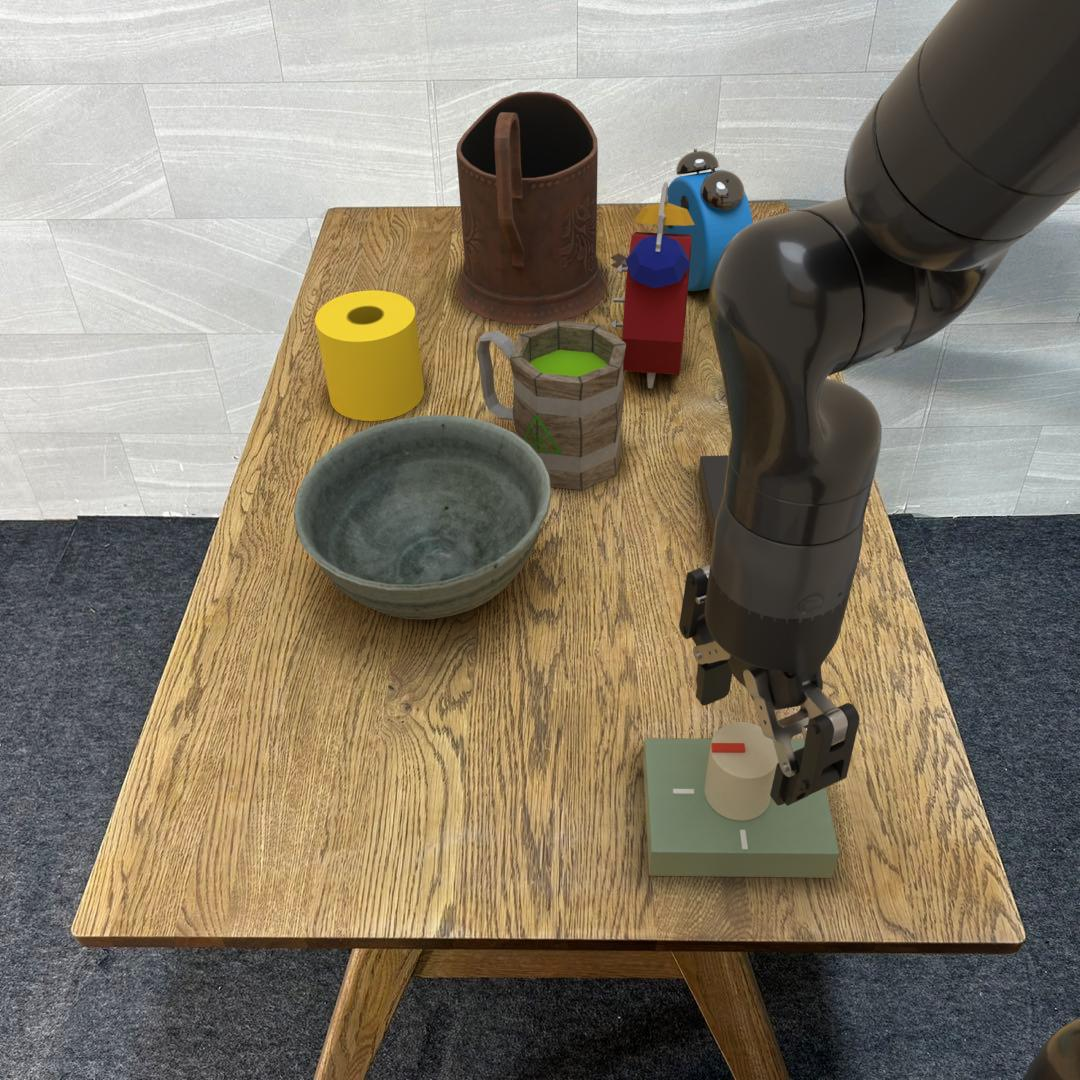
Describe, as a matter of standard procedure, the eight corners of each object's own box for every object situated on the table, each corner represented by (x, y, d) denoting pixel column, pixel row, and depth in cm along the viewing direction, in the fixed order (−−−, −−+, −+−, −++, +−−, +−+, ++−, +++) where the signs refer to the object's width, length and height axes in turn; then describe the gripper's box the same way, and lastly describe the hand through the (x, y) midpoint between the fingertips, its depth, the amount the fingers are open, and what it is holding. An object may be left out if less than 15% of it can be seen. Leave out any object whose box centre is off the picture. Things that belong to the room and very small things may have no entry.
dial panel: (809, 764, 75) (816, 737, 73) (832, 878, 68) (840, 852, 66) (642, 762, 76) (644, 736, 73) (648, 876, 69) (651, 850, 67)
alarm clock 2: (678, 404, 108) (693, 222, 95) (596, 398, 110) (598, 218, 96) (686, 329, 119) (700, 157, 106) (611, 324, 120) (615, 153, 107)
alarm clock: (748, 304, 123) (763, 180, 113) (699, 313, 122) (711, 189, 112) (701, 255, 132) (712, 136, 122) (656, 263, 131) (663, 144, 121)
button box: (839, 584, 88) (847, 550, 86) (721, 588, 88) (725, 553, 86) (802, 470, 100) (809, 437, 97) (698, 473, 100) (701, 440, 97)
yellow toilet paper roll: (323, 421, 108) (307, 342, 101) (337, 368, 115) (323, 291, 109) (419, 420, 107) (409, 340, 101) (428, 366, 115) (419, 289, 108)
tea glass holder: (614, 253, 133) (619, 46, 116) (593, 355, 116) (596, 129, 99) (471, 246, 135) (457, 42, 119) (430, 345, 118) (406, 122, 101)
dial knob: (765, 765, 71) (775, 719, 68) (774, 821, 68) (785, 775, 65) (701, 764, 72) (707, 718, 68) (707, 820, 68) (714, 775, 65)
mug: (644, 445, 103) (650, 340, 95) (586, 505, 97) (587, 398, 89) (515, 397, 110) (510, 295, 102) (452, 450, 104) (442, 345, 95)
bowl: (598, 551, 92) (600, 462, 85) (457, 710, 79) (446, 620, 73) (414, 474, 101) (402, 387, 94) (260, 606, 88) (234, 517, 81)
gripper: (927, 628, 52) (866, 809, 63) (764, 468, 62) (735, 649, 73) (803, 681, 50) (762, 858, 61) (653, 506, 59) (641, 687, 70)
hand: (747, 744), depth 67 cm, fingers open, 8 cm apart
